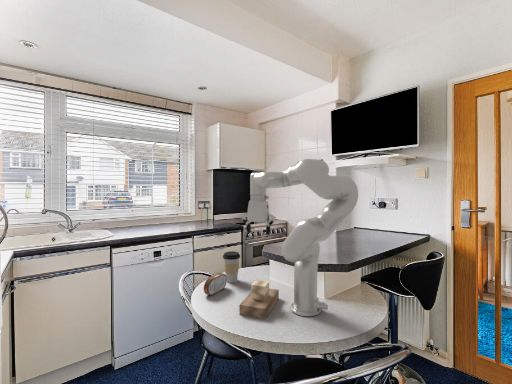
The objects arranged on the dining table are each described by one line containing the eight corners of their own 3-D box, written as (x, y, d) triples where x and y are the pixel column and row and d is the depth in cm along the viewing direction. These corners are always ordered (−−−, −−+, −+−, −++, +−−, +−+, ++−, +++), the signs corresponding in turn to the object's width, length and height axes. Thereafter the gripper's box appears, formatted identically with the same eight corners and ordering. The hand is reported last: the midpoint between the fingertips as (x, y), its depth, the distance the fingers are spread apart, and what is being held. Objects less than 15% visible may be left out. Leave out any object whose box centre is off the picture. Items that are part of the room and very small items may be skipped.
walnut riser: (278, 298, 130) (278, 289, 130) (265, 318, 111) (265, 308, 111) (256, 295, 134) (256, 286, 134) (239, 314, 115) (239, 304, 115)
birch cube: (269, 295, 124) (269, 281, 124) (264, 300, 119) (264, 286, 118) (256, 293, 126) (256, 279, 126) (251, 298, 121) (251, 284, 120)
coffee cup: (233, 276, 159) (233, 250, 158) (244, 281, 152) (243, 253, 151) (219, 280, 153) (219, 253, 152) (229, 285, 146) (229, 256, 145)
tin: (223, 286, 145) (222, 270, 144) (228, 287, 143) (227, 271, 143) (203, 297, 132) (202, 279, 132) (208, 298, 130) (208, 280, 130)
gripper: (277, 198, 137) (277, 233, 138) (244, 197, 143) (244, 231, 144) (273, 199, 130) (273, 236, 131) (238, 198, 136) (238, 233, 137)
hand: (258, 233), depth 137 cm, fingers open, 9 cm apart
